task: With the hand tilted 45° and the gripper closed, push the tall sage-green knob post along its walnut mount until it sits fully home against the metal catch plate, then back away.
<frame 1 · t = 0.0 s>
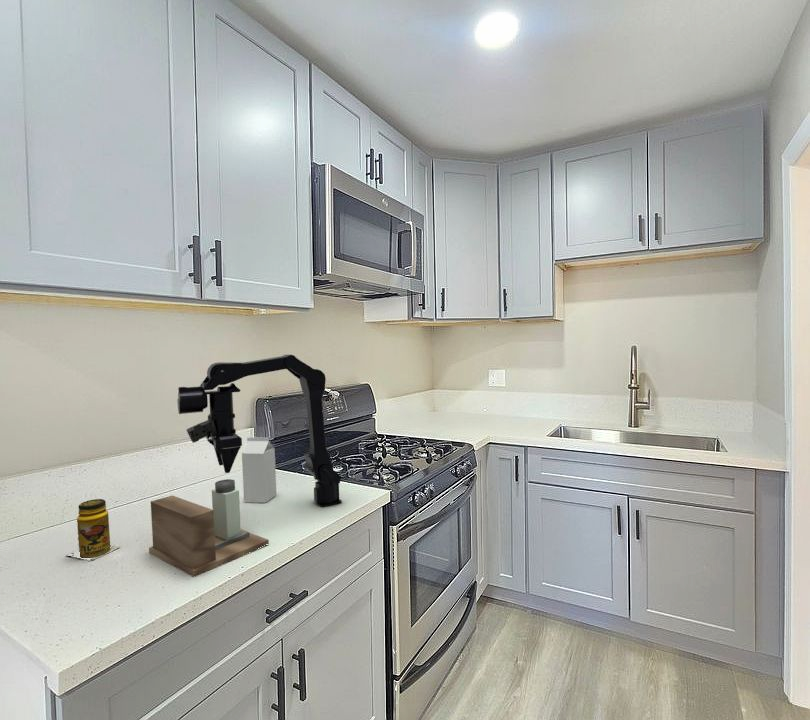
hand: (224, 468, 124), 15 cm above the worktop, tool pointing down, fingers open, 9 cm apart
milk carton: (260, 499, 144), on the worktop
knob mount: (208, 549, 109), on the worktop
condiment: (93, 553, 110), on the worktop
knob post: (226, 508, 113), point 8 cm above the worktop, slide at 6.0 cm
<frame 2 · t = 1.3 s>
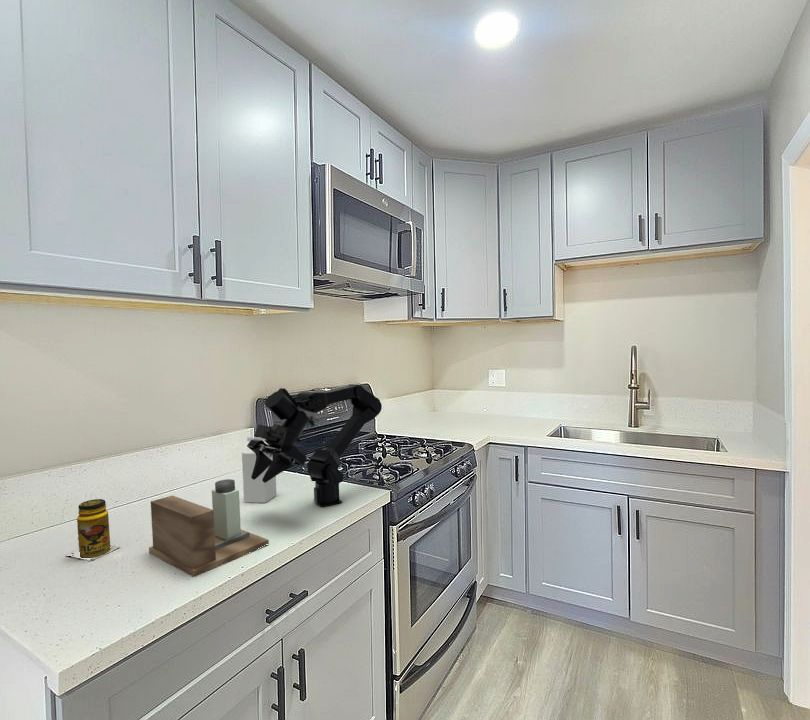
hand: (258, 480, 120), 13 cm above the worktop, tool tilted 45°, fingers open, 4 cm apart
nothing on the worktop moved.
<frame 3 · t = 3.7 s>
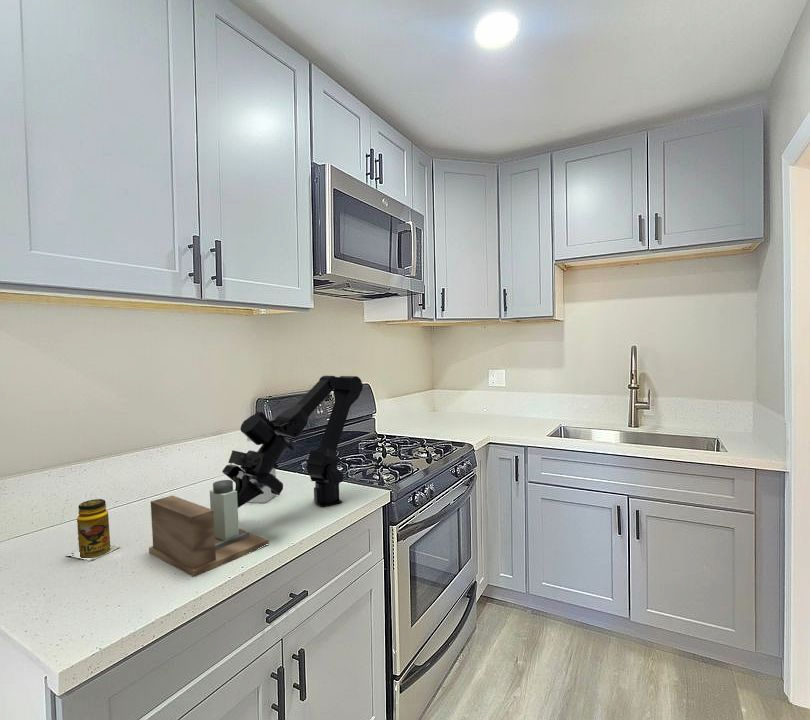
hand: (231, 509, 114), 7 cm above the worktop, tool tilted 45°, fingers closed, pressing on knob post
knob post: (224, 509, 113), point 8 cm above the worktop, slide at 5.5 cm, touching gripper
everything else where it was.
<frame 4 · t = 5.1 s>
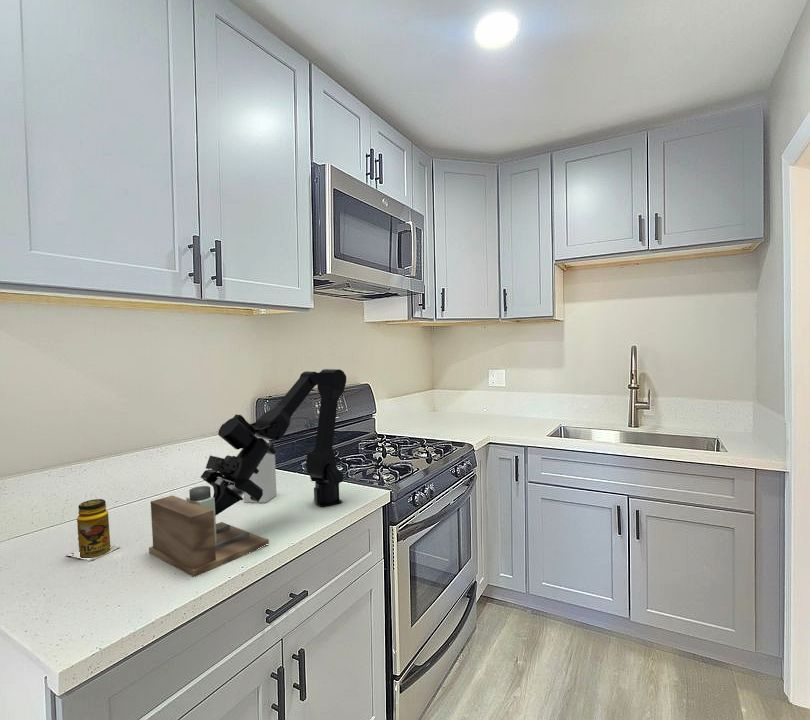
hand: (209, 517, 110), 7 cm above the worktop, tool tilted 45°, fingers closed, pressing on knob post
knob post: (201, 517, 108), point 8 cm above the worktop, slide at -0.3 cm, touching gripper
everything else where it was.
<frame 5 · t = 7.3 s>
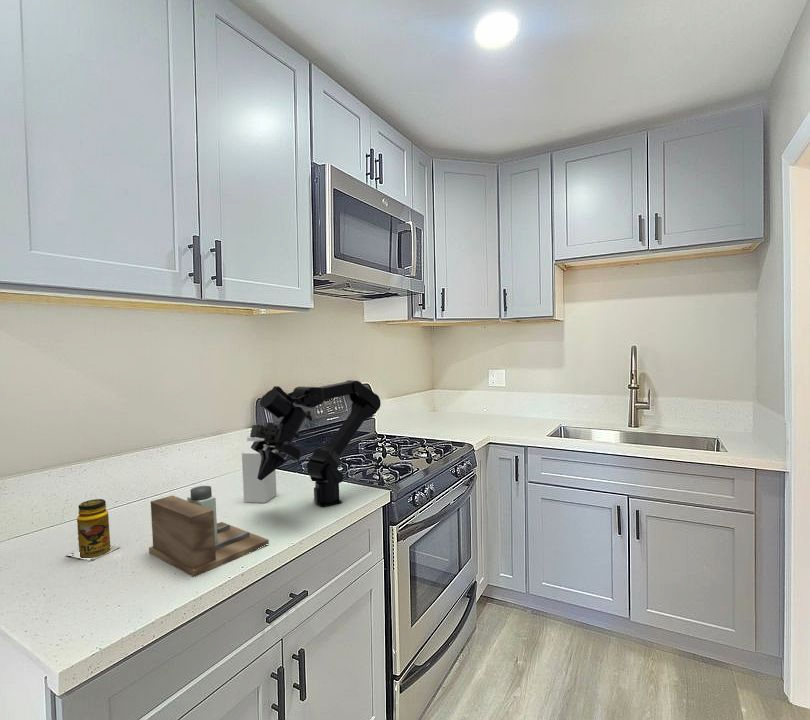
hand: (259, 479, 121), 12 cm above the worktop, tool tilted 40°, fingers closed
knob post: (202, 516, 108), point 8 cm above the worktop, slide at 0.0 cm
everything else where it was.
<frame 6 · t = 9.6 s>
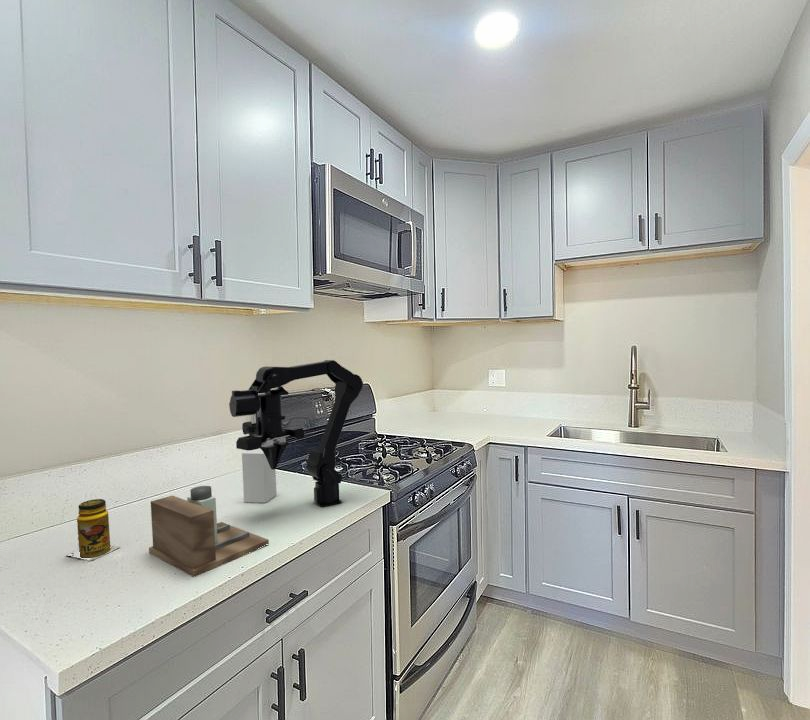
hand: (273, 469, 129), 13 cm above the worktop, tool pointing down, fingers closed
nothing on the worktop moved.
at the end: knob post slide at 0.0 cm; milk carton moved 0.2 cm from its start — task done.
